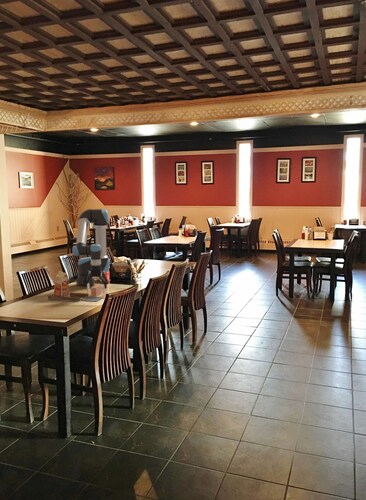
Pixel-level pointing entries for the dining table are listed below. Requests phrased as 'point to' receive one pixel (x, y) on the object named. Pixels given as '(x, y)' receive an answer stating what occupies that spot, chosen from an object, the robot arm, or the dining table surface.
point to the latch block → (96, 291)
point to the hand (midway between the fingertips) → (96, 292)
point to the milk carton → (61, 285)
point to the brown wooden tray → (68, 297)
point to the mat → (92, 299)
